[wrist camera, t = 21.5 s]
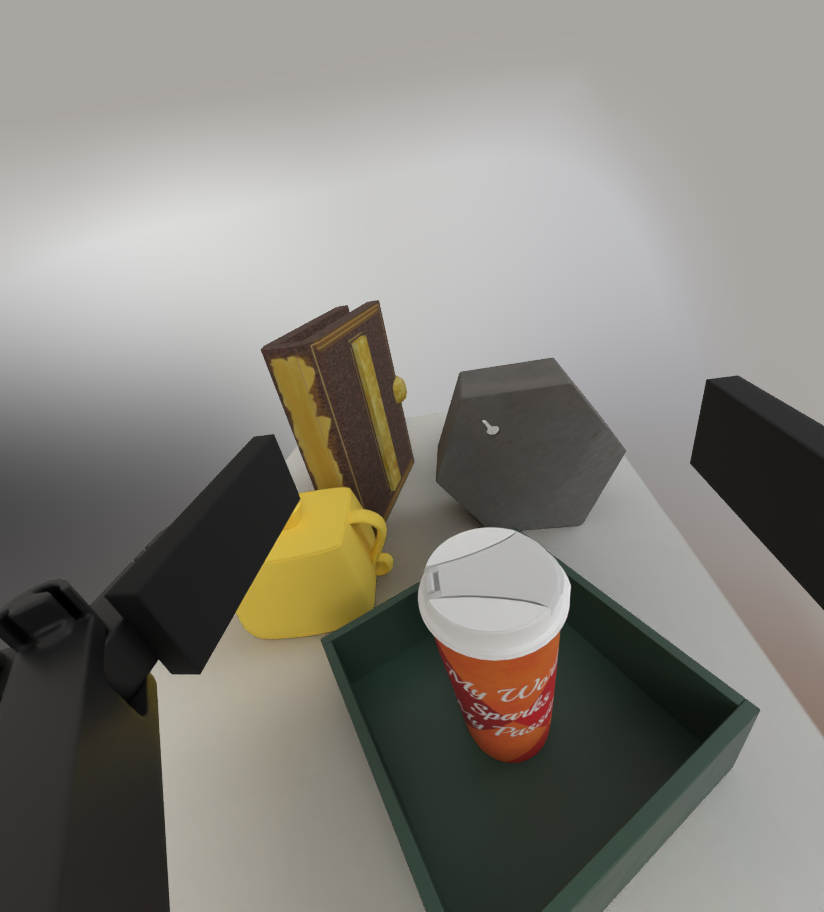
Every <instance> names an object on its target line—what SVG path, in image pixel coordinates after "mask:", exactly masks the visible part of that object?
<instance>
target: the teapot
mask: <svg viewBox="0 0 824 912" xmlns="http://www.w3.org/2000/svg"><path fill="white" fill-rule="evenodd" d="M299 496H300V498H301V499H300V501H299V502H298V504H297V506H296V508H295V509H294V511H293V513H292V515H291V516H290V518H289V520H288V522H287V523H286V525H285V527H284V529H283V530H282V532H281V534H280V536H279V537H278V539H277V541H276V543H275V544H274V546H273V548H272V550H271V551H270V553H269V555H268V557H267V558H266V560H265V562H264V564H263V565H262V567H261V569H260V571H259V572H258V574H257V576H256V578H255V579H254V581H253V583H252V585H251V586H250V588H249V590H248V592H247V593H246V595H245V597H244V599H243V600H242V602H241V604H240V606H239V607H238V609H237V611H236V614H237V616H238V618H239V620H240V622H241V623H242V625H243V627H244V628H245V629H246V630H247V631H248V632H250V633H251V634H252V635H254V636H255V637H258V638H260V639H283V638H296V637H305V636H312V635H318V634H323V633H327V632H332V631H336V630H337V629H339V628H341V627H342V626H344V625H346V624H348V623H349V622H351V621H353V620H355V619H356V618H358V617H360V616H361V615H363V614H365V613H367V612H368V611H370V610H372V609H374V602H375V591H376V579H377V576H382V575H385V574H388V573H389V572H390V571H391V570H392V567H393V558H392V556H391V555H390V554H388V553H381V551H382V549H383V546H384V544H385V540H386V536H387V527H386V523H385V521H384V519H383V518H382V517H381V516H380V515H379V514H377V513H375V512H373V511H370V510H366V509H363V508H362V506H361V504H360V503H359V501H358V500H357V498H356V496H355V495H354V493H353V492H352V490H351V489H350V488H345V487H340V488H330V489H322V490H316V491H309V492H303V493H299ZM372 526H373V527H375V528H376V529H377V538H375V535H374V532H373V529H372Z"/></svg>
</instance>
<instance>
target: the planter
mask: <svg viewBox="0 0 824 912" xmlns="http://www.w3.org/2000/svg"><path fill="white" fill-rule="evenodd" d="M482 420H486V421H487V422H488V423H489V424H490V425H491V426H498V427H499V431H498V432H497V433H496V434H494V435H490V434H488V433H487V432H486V431H487V427H486V425H485V424H484V423H483V422H482ZM625 452H626V450H625V448H624V447H623V446H622V444H621V443H620V442H619V440H618V439H617V438H616V437H615V435H614V434H613V432H612V431H611V430H610V428H609V427H608V426H607V424H606V423H605V422H604V420H603V419H602V418H601V416H600V415H599V414H598V412H597V411H596V410H595V409H594V407H593V406H592V405H591V404H590V403H589V401H588V400H587V399H586V397H585V396H584V395H583V394H582V393H581V391H580V390H579V389H578V387H577V386H576V385H575V384H574V383H573V381H572V380H571V379H570V378H569V376H568V375H567V374H566V373H565V371H564V370H563V369H562V368H561V366H560V365H559V364H558V363H557V361H556V360H555V359H554V358H548V359H541V360H535V361H528V362H522V363H515V364H509V365H502V366H496V367H489V368H483V369H477V370H470V371H463V372H460V374H459V376H458V380H457V383H456V387H455V390H454V394H453V397H452V400H451V404H450V407H449V410H448V414H447V417H446V421H445V424H444V427H443V431H442V434H441V438H440V441H439V444H438V453H437V470H436V482H437V483H438V484H439V485H440V486H441V487H442V488H443V489H444V490H445V491H447V492H448V493H449V494H450V495H451V496H452V497H453V498H454V499H455V500H456V501H457V502H459V503H460V504H461V505H462V506H463V507H464V508H465V509H466V510H467V511H468V512H469V513H470V514H472V515H473V516H474V517H475V518H476V519H477V520H478V521H479V522H480V523H481V524H482V525H484V526H485V527H496V528H505V529H512V528H513V527H515V528H517V529H518V530H531V529H543V528H554V527H566V526H577V525H581V524H582V523H583V522H584V521H585V519H586V517H587V516H588V514H589V512H590V511H591V509H592V507H593V506H594V504H595V502H596V501H597V499H598V497H599V496H600V494H601V492H602V491H603V489H604V487H605V486H606V484H607V482H608V481H609V479H610V477H611V476H612V474H613V472H614V471H615V469H616V467H617V466H618V464H619V462H620V461H621V459H622V457H623V456H624V454H625Z"/></svg>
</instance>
